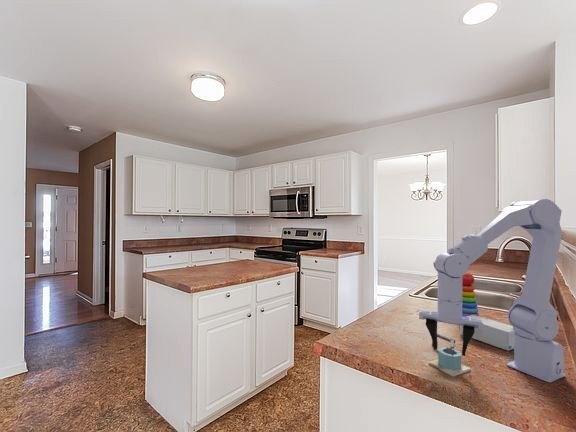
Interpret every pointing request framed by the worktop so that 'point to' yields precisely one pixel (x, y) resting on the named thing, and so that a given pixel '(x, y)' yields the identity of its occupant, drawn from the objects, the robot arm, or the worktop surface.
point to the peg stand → (448, 371)
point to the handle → (446, 340)
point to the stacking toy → (468, 296)
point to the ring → (449, 359)
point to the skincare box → (494, 333)
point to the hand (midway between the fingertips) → (449, 351)
